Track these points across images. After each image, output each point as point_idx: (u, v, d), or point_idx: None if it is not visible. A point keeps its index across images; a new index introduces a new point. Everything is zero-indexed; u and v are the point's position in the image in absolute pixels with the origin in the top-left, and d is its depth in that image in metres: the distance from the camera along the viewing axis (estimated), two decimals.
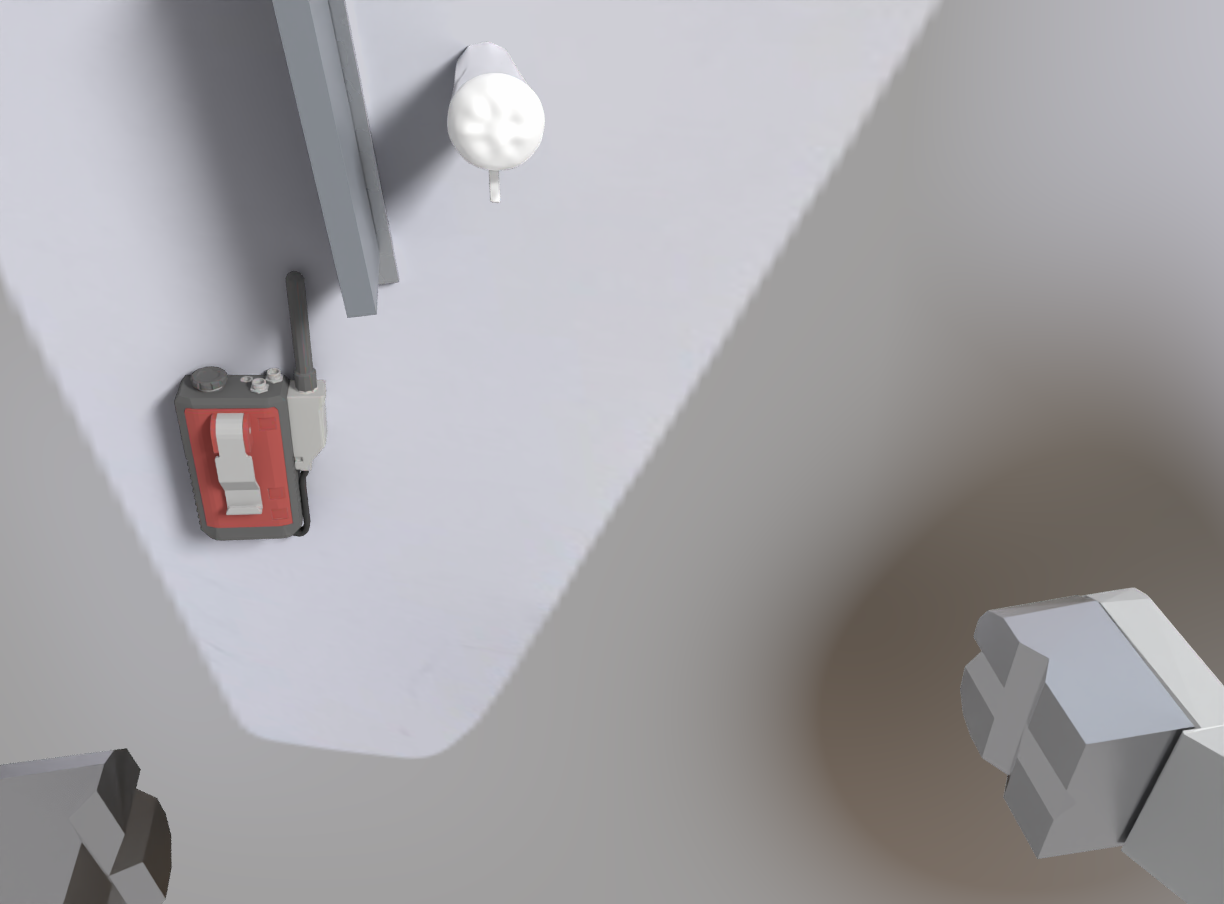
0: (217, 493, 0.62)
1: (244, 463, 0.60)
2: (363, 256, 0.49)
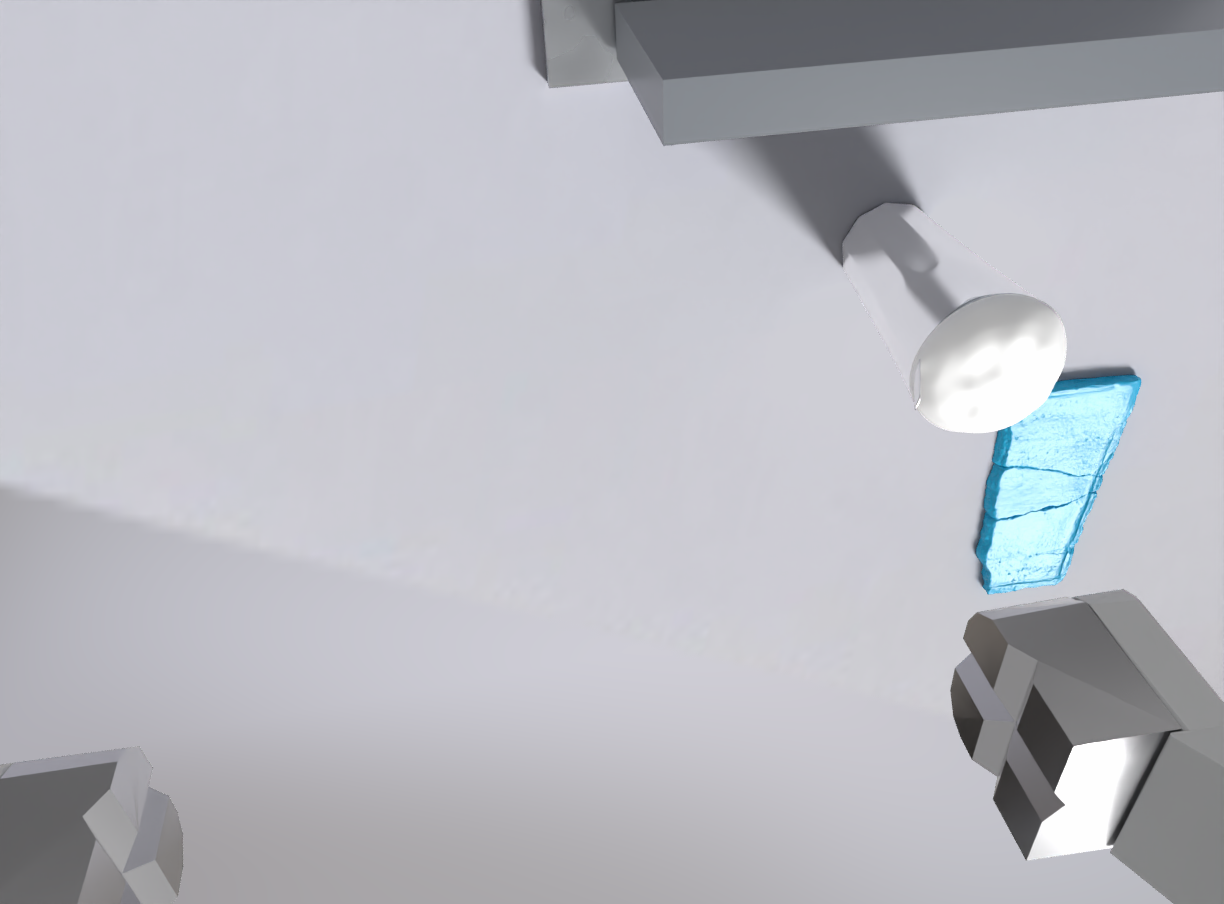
0: None
1: None
2: (800, 130, 0.23)
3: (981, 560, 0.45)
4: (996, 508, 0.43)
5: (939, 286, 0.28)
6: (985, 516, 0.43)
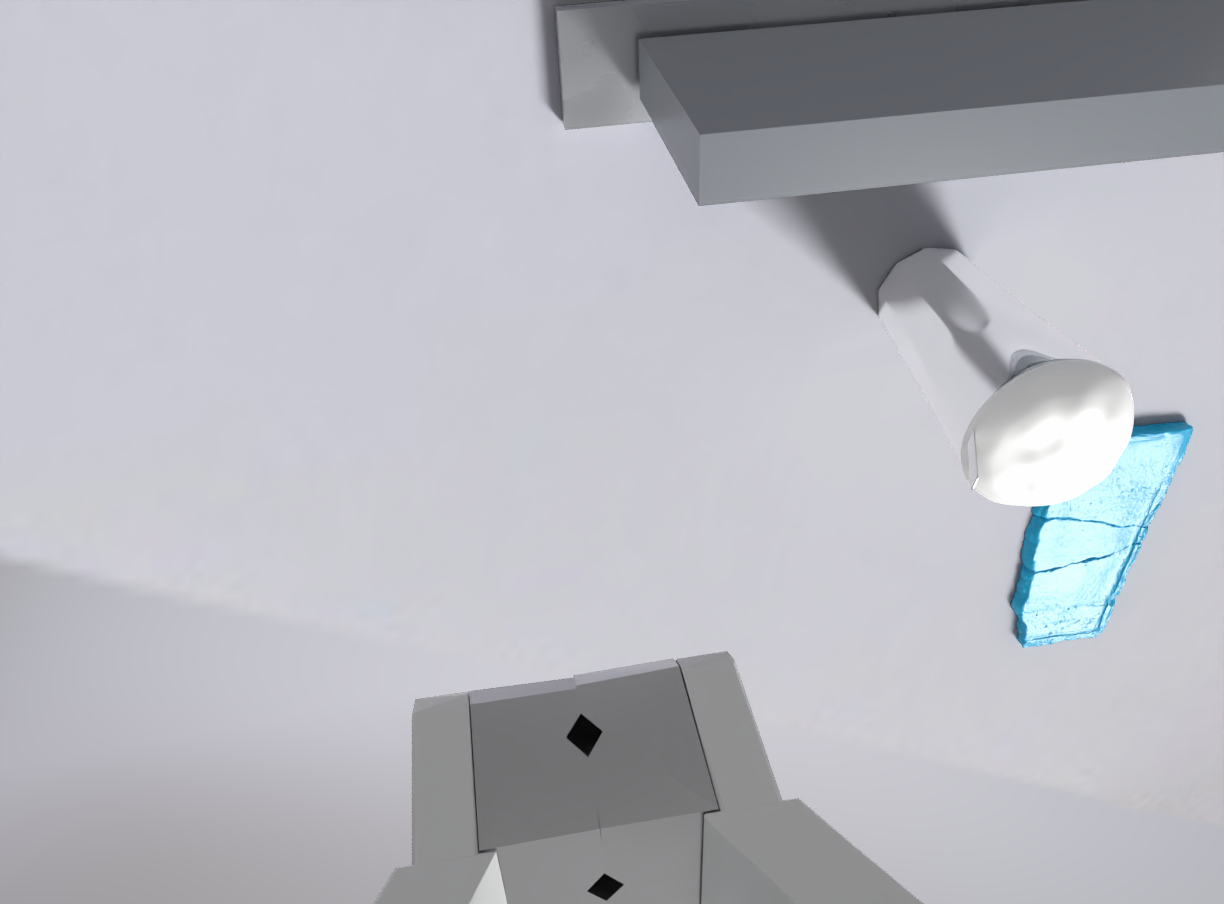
0: None
1: None
2: (851, 187, 0.21)
3: (1017, 613, 0.42)
4: (1035, 560, 0.40)
5: (993, 348, 0.26)
6: (1022, 568, 0.41)
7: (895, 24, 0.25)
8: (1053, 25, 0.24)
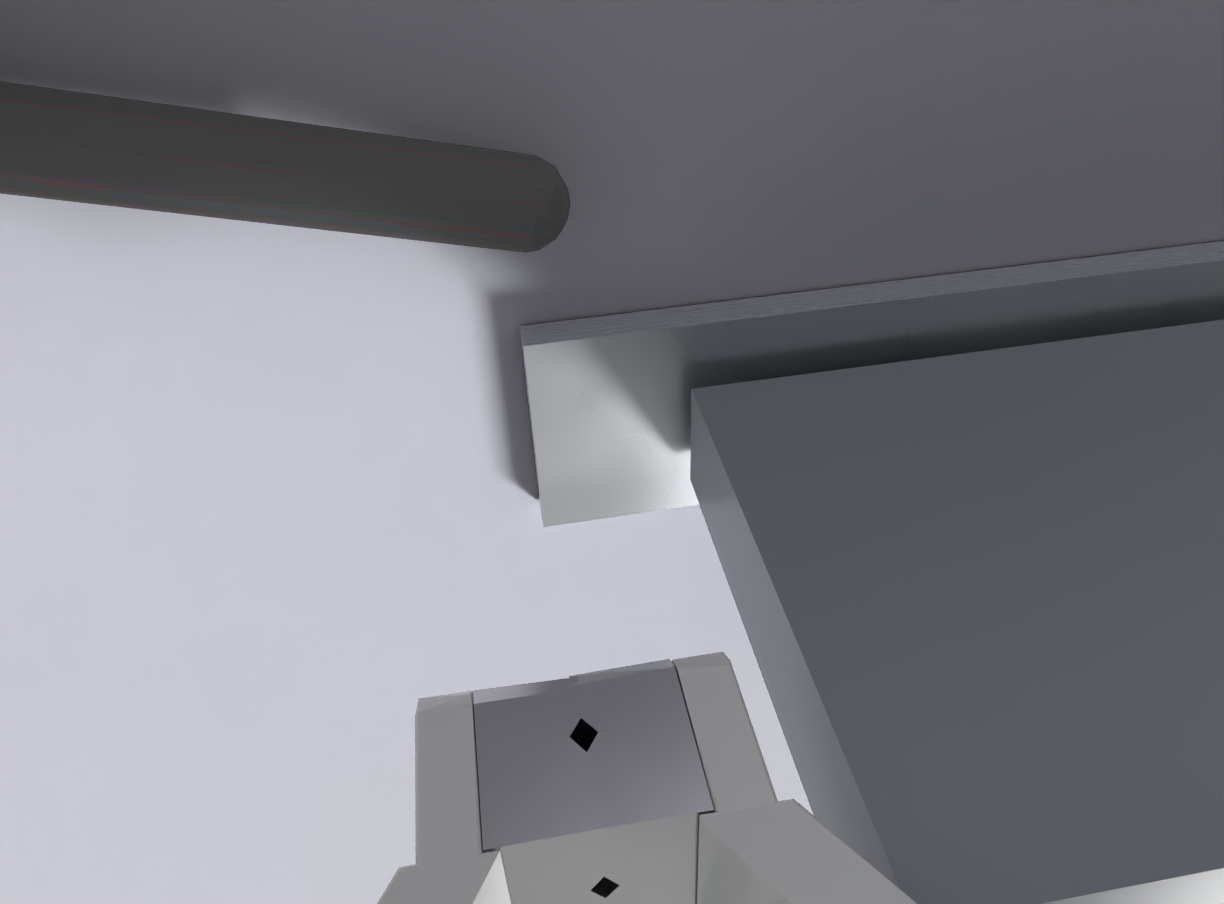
0: None
1: None
2: None
3: None
4: None
5: None
6: None
7: (1198, 355, 0.13)
8: None
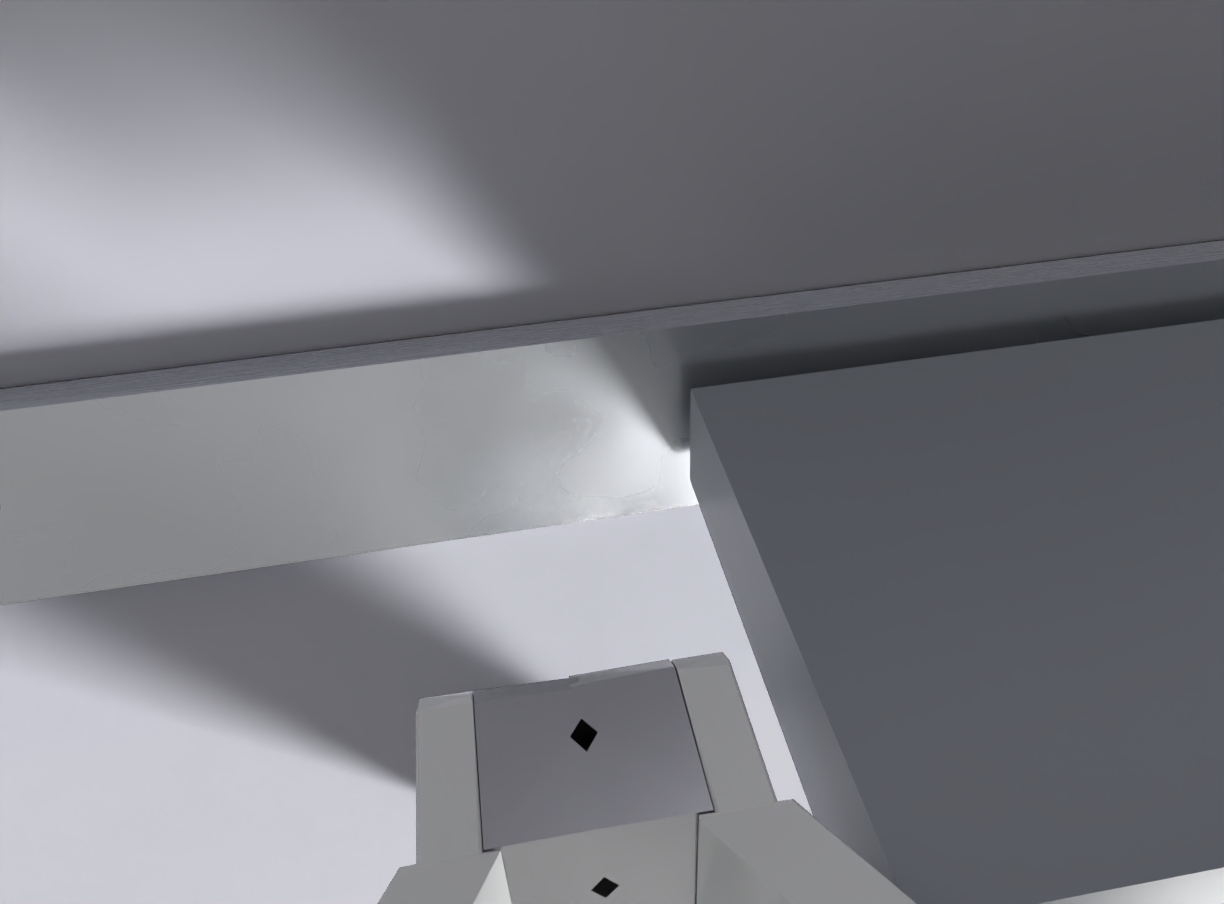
0: None
1: None
2: None
3: None
4: None
5: None
6: None
7: (1198, 354, 0.13)
8: None
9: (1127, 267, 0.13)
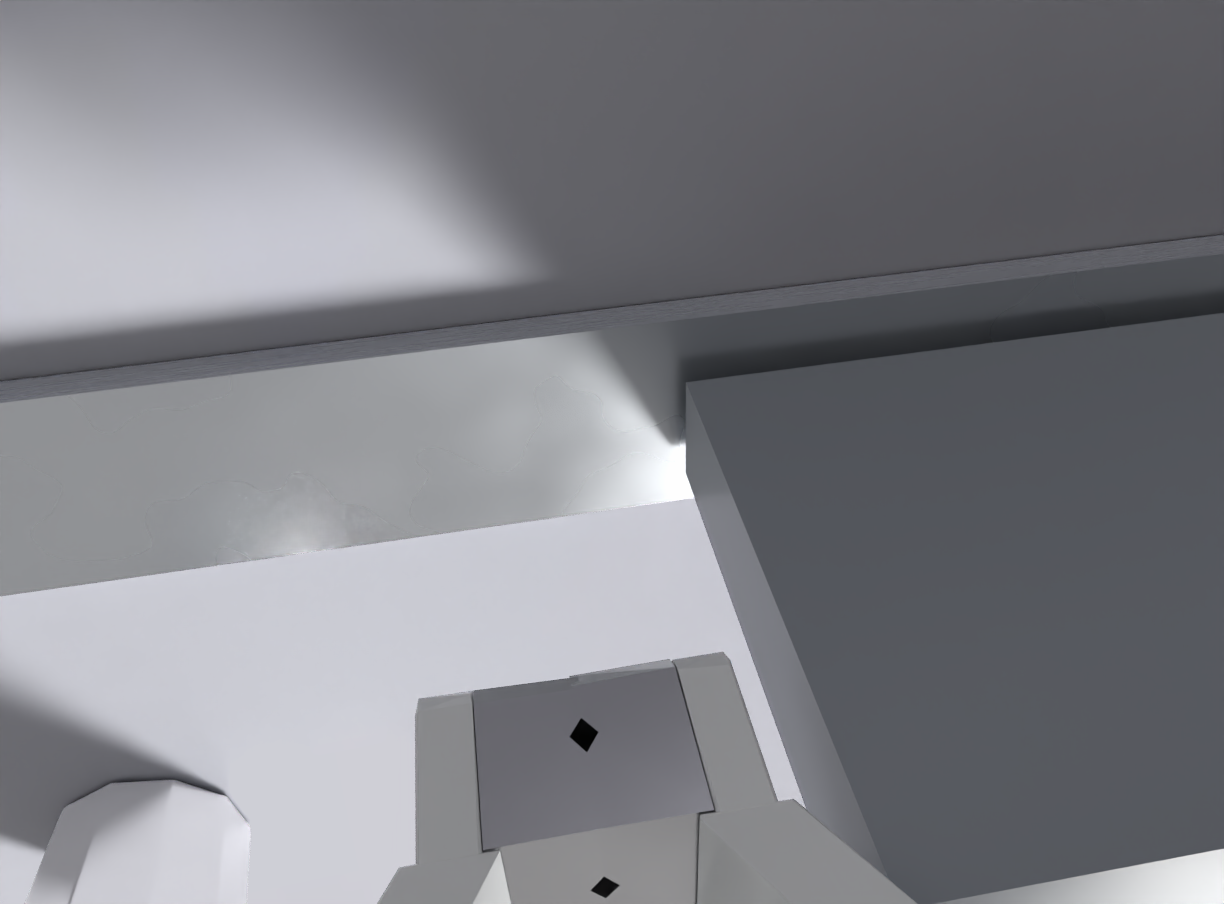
0: None
1: None
2: None
3: None
4: None
5: None
6: None
7: (1191, 348, 0.13)
8: None
9: (616, 324, 0.12)
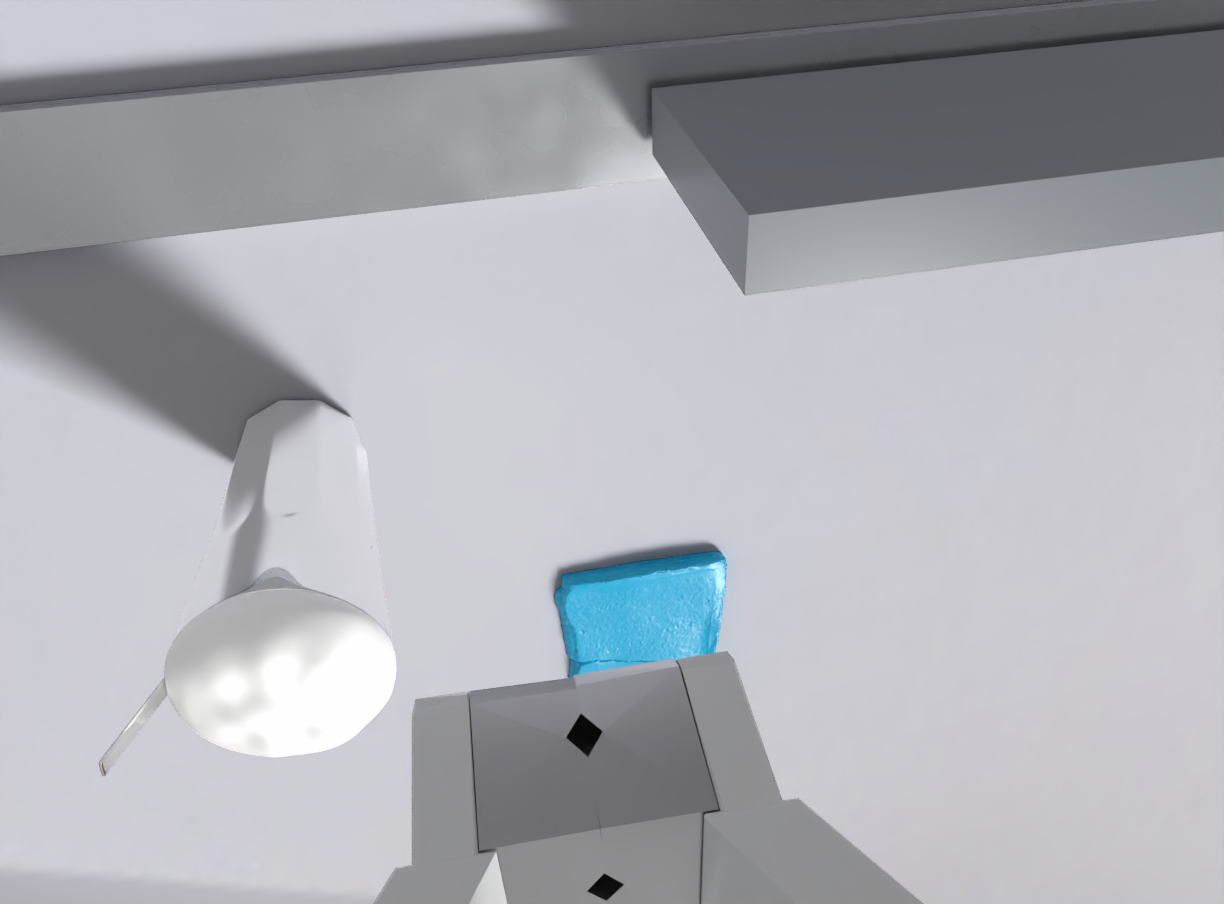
0: None
1: None
2: (919, 268, 0.18)
3: None
4: None
5: (214, 565, 0.20)
6: None
7: (940, 69, 0.22)
8: (1119, 67, 0.22)
9: (609, 52, 0.21)
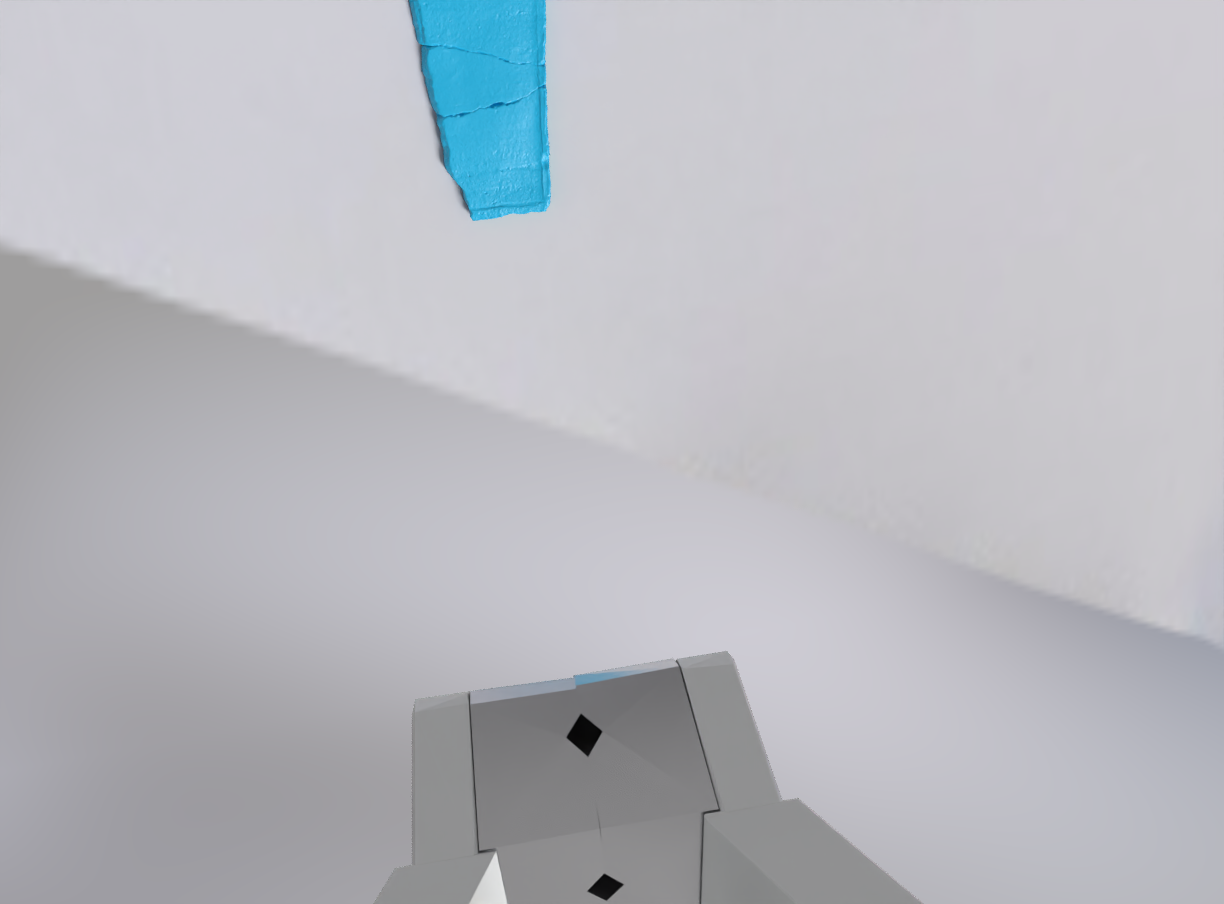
0: None
1: None
2: None
3: None
4: (437, 100, 0.41)
5: None
6: (437, 117, 0.42)
7: None
8: None
9: None
